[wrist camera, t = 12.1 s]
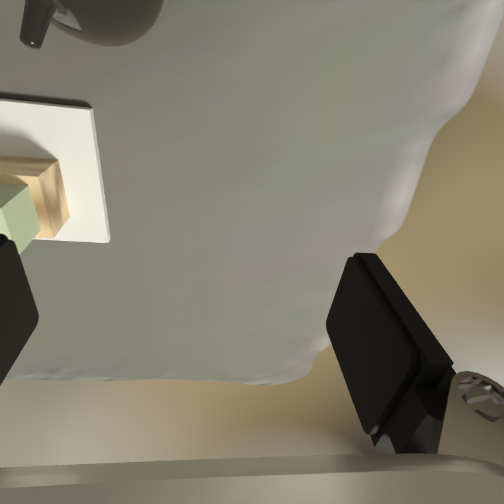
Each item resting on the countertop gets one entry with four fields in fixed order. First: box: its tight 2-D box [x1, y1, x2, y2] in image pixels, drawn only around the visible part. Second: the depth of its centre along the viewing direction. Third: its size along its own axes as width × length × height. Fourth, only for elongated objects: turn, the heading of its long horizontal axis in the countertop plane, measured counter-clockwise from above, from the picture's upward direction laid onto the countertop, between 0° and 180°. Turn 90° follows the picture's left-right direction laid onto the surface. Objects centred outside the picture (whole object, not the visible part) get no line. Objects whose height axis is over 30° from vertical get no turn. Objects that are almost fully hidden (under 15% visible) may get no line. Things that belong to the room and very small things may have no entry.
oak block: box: [0, 155, 70, 238], centre depth 35 cm, size 7×7×5 cm
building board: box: [0, 98, 111, 243], centre depth 37 cm, size 16×15×1 cm
